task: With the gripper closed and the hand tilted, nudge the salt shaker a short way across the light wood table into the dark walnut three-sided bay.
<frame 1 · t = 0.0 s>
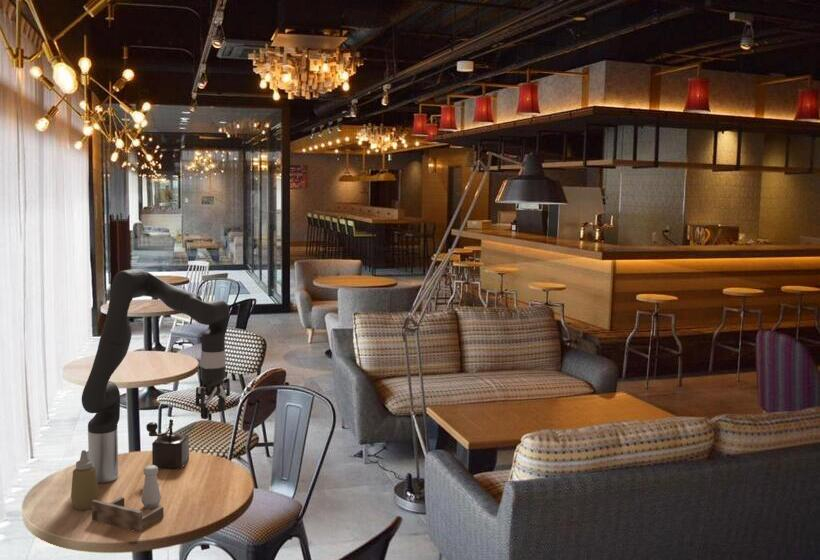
hand: (213, 414, 233), 29 cm above the table, tool pointing down, fingers open, 8 cm apart
salt shaker: (151, 506, 234), on the table
manual coffee grinder: (167, 466, 266), on the table
walnut bay: (132, 516, 227), on the table
squeeze bottle: (85, 506, 232), on the table
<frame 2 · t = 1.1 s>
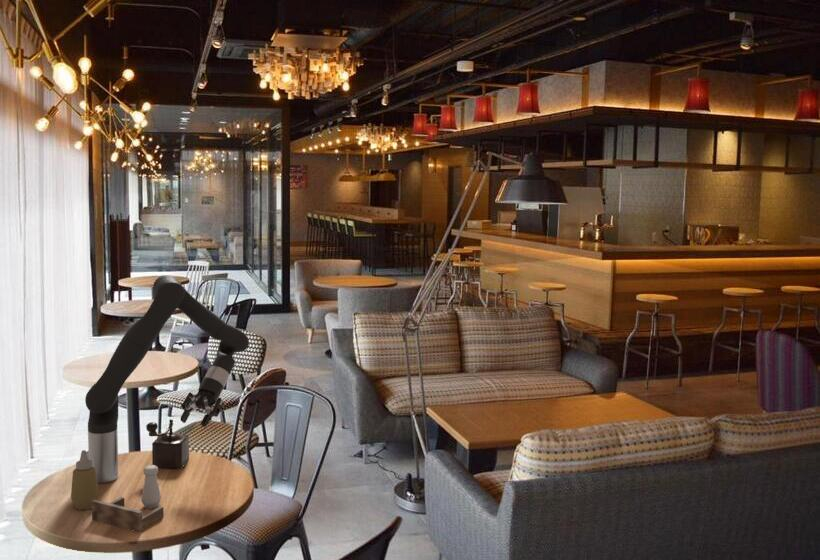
hand: (192, 423, 249), 21 cm above the table, tool tilted 45°, fingers open, 8 cm apart
nothing on the table moved.
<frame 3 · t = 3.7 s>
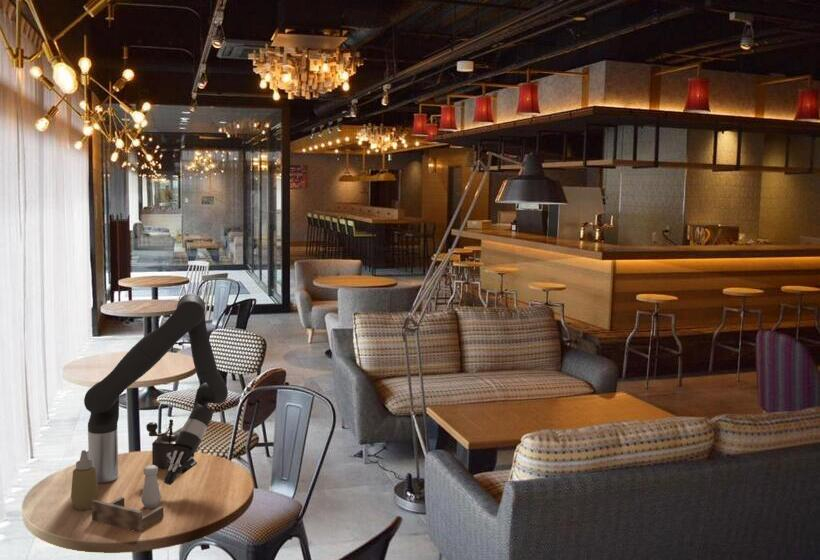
hand: (167, 483, 240), 5 cm above the table, tool tilted 45°, fingers closed
nothing on the table moved.
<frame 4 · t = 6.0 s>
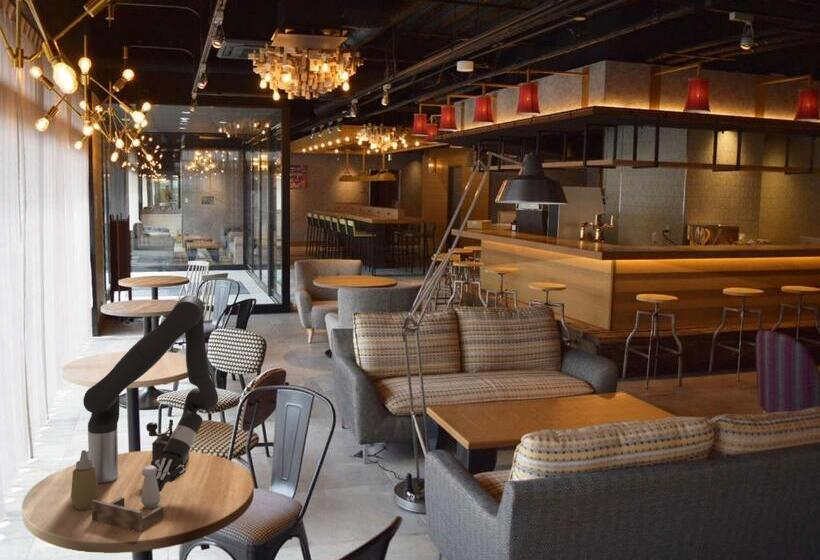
hand: (155, 492, 235), 4 cm above the table, tool tilted 45°, fingers closed
salt shaker: (151, 506, 234), on the table, touching gripper
everything else where it was.
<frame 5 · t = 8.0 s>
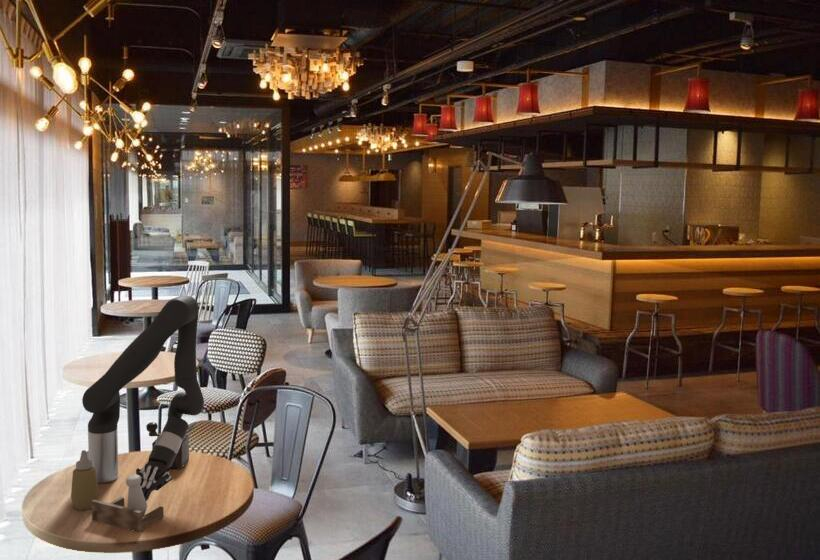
hand: (141, 501, 228), 4 cm above the table, tool tilted 45°, fingers closed
salt shaker: (138, 515, 227), on the table, touching gripper
everything else where it was.
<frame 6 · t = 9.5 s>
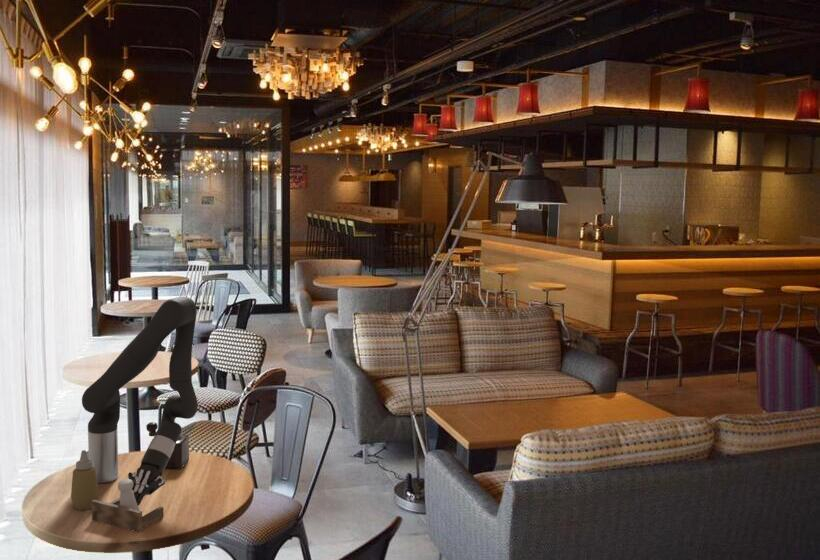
hand: (133, 505, 225), 4 cm above the table, tool tilted 45°, fingers closed
salt shaker: (130, 520, 224), on the table, touching gripper
everything else where it was.
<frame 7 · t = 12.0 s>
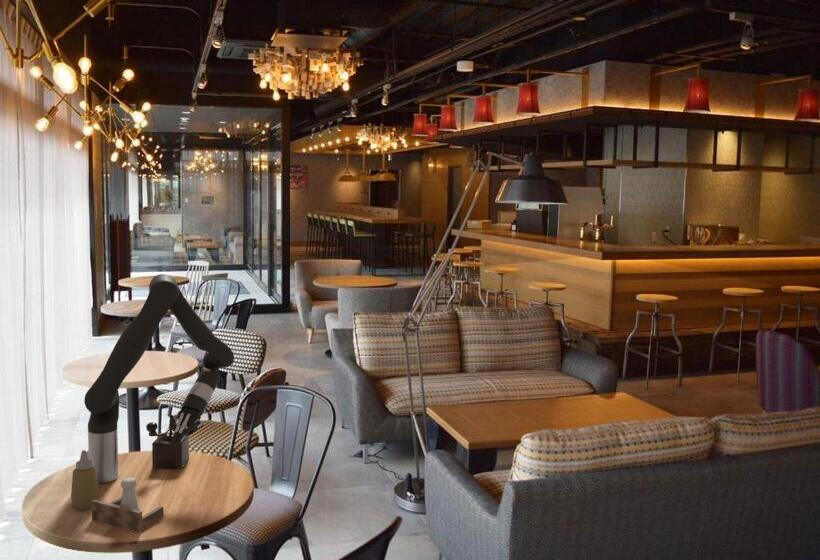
hand: (173, 444, 242), 16 cm above the table, tool tilted 45°, fingers closed
salt shaker: (129, 521, 224), on the table
everything else where it was.
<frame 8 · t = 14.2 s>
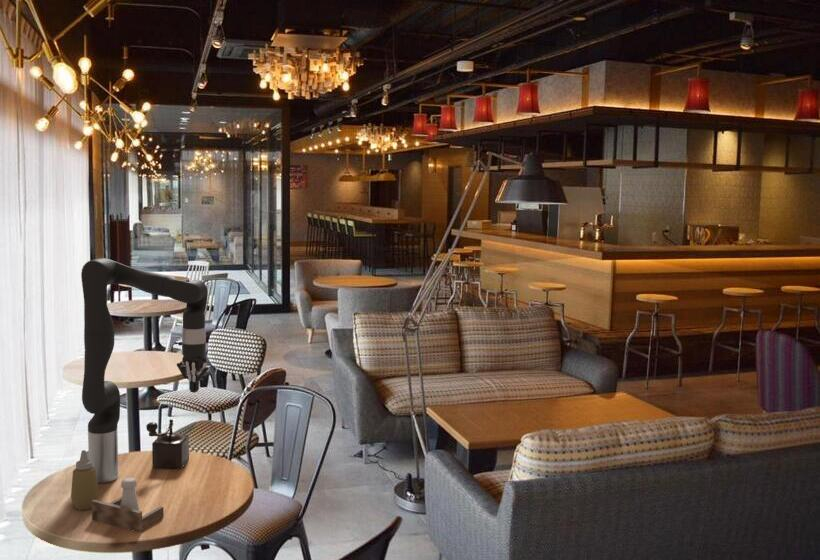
hand: (194, 391, 248), 32 cm above the table, tool pointing down, fingers closed
nothing on the table moved.
at the end: salt shaker inside the target area (1.1 cm from its centre), on the table; salt shaker tilted 0° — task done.
